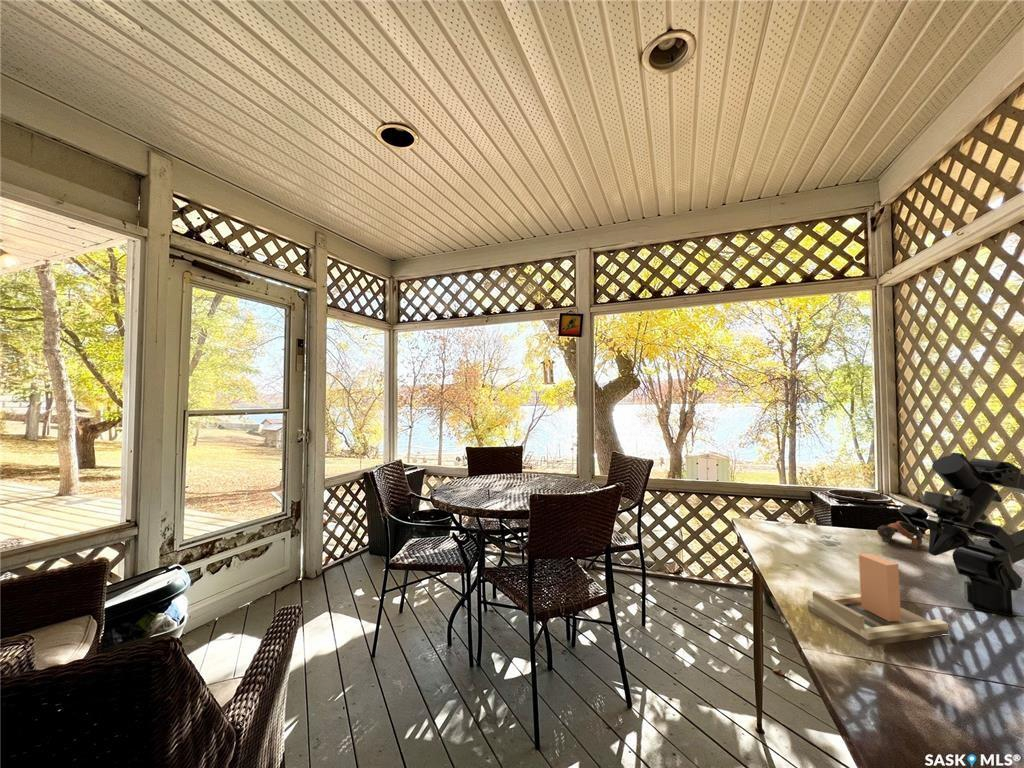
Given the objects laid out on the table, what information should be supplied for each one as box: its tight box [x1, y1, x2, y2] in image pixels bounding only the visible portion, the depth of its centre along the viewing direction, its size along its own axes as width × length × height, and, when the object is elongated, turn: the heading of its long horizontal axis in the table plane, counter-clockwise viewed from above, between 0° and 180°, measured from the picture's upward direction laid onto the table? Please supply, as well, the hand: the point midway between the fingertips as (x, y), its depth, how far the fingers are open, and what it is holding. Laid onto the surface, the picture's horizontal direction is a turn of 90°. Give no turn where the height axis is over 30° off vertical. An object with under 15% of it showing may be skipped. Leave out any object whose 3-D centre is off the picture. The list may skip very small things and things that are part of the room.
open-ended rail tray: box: [807, 590, 949, 647], centre depth 90 cm, size 20×14×5 cm
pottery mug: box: [876, 520, 924, 548], centre depth 135 cm, size 12×10×8 cm
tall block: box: [858, 553, 902, 622], centre depth 90 cm, size 3×6×12 cm, turn 8°
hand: (931, 554), depth 93 cm, fingers closed
